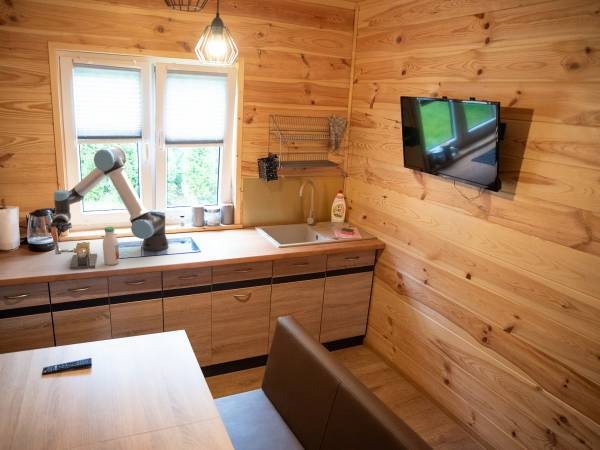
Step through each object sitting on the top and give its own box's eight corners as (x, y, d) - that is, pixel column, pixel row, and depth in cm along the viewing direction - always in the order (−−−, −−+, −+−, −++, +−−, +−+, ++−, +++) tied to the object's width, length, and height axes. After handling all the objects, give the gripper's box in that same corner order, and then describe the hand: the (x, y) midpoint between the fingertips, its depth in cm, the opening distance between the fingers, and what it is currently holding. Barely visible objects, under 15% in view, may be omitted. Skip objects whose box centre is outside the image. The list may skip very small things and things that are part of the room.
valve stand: (97, 256, 259) (96, 238, 256) (95, 268, 242) (94, 249, 239) (73, 257, 255) (72, 239, 252) (69, 269, 238) (68, 250, 235)
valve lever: (73, 250, 247) (69, 226, 234) (73, 254, 245) (69, 231, 232) (56, 251, 244) (51, 227, 231) (55, 255, 242) (50, 231, 229)
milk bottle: (112, 266, 246) (110, 231, 240) (100, 263, 248) (98, 228, 242) (122, 261, 253) (120, 227, 247) (111, 258, 255) (108, 224, 249)
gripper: (73, 228, 261) (68, 241, 240) (47, 228, 256) (40, 241, 235) (73, 215, 259) (67, 227, 238) (46, 215, 254) (39, 227, 233)
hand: (54, 234), depth 236 cm, fingers closed
